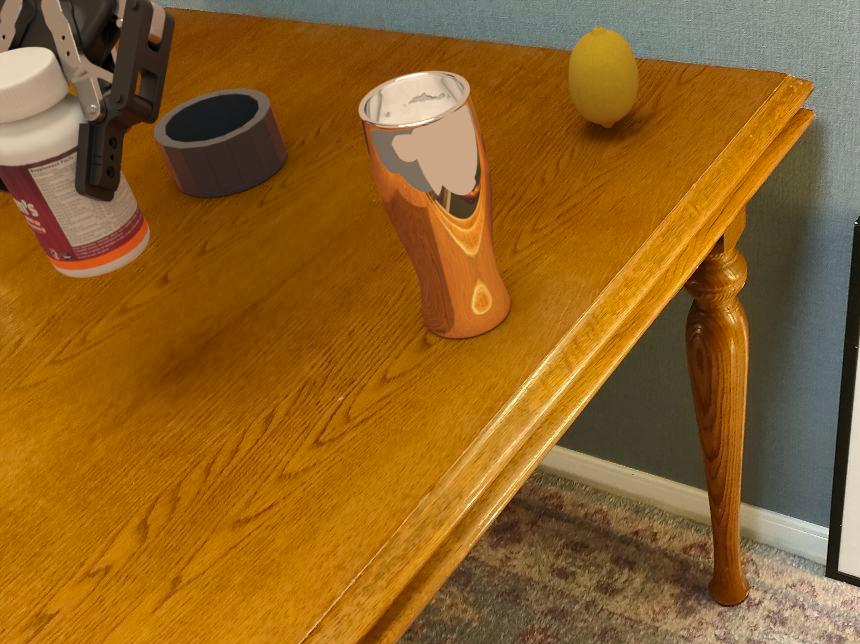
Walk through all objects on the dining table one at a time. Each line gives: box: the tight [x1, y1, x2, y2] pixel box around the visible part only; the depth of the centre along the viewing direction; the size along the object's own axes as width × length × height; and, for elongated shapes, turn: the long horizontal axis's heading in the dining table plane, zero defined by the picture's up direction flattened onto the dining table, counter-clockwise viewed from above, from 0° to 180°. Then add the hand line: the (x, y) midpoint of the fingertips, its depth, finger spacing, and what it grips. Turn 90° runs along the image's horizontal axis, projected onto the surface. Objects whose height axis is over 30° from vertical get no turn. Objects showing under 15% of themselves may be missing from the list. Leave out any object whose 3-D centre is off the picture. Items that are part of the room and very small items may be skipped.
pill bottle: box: [0, 47, 151, 279], centre depth 57 cm, size 6×6×11 cm
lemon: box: [567, 25, 640, 129], centre depth 79 cm, size 6×6×8 cm
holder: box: [153, 87, 288, 198], centre depth 86 cm, size 10×10×4 cm
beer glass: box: [358, 70, 512, 340], centre depth 63 cm, size 7×7×15 cm
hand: (47, 193), depth 57 cm, fingers closed on pill bottle, 6 cm apart
